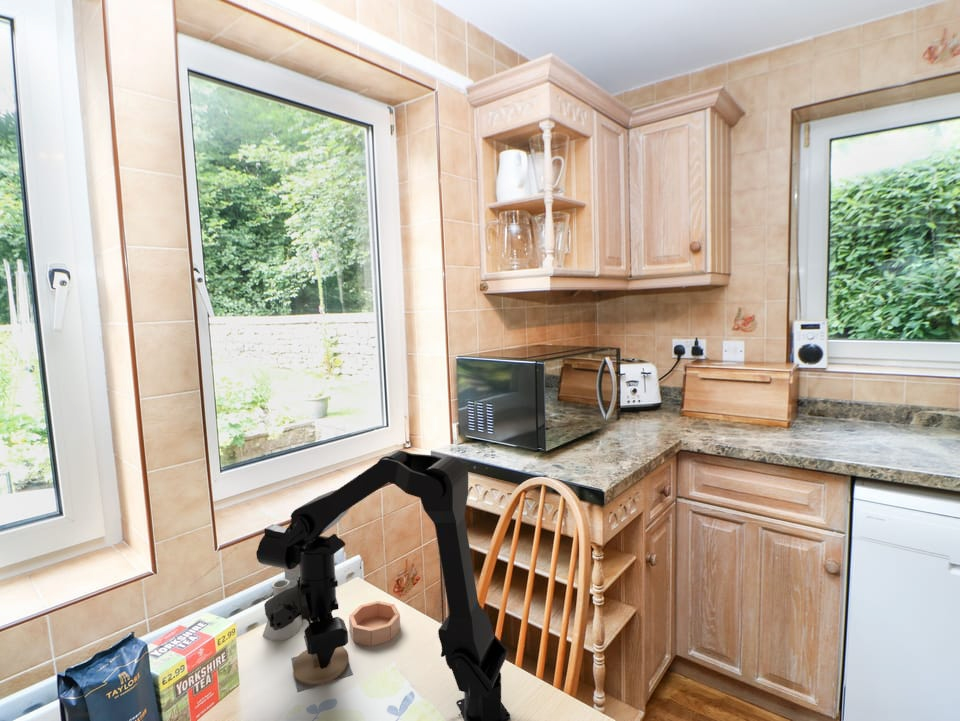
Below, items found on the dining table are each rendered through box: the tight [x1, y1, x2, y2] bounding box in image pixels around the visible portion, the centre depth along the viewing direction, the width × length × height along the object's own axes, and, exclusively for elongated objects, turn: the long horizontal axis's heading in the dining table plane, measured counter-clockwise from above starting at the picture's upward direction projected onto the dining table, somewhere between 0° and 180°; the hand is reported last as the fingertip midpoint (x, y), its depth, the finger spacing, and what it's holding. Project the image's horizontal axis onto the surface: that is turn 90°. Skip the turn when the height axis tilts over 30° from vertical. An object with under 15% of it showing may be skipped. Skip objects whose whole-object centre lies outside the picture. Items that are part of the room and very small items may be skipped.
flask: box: [262, 578, 303, 641], centre depth 101 cm, size 7×7×10 cm
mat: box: [290, 646, 354, 693], centre depth 91 cm, size 9×9×1 cm
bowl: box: [348, 600, 401, 647], centre depth 101 cm, size 9×9×4 cm
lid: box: [292, 646, 350, 686], centre depth 91 cm, size 9×9×4 cm
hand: (321, 657), depth 91 cm, fingers open, 5 cm apart
